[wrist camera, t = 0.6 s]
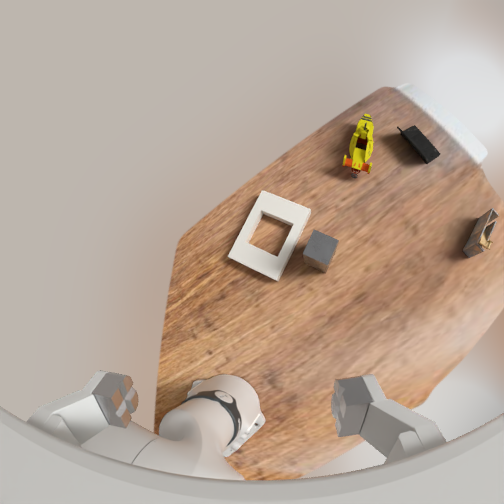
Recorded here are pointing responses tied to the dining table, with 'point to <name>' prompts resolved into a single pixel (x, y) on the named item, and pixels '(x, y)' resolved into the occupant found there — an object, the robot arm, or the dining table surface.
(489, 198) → the dining table surface
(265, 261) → the white rectangular frame
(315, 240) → the grey metal block
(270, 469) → the dining table surface
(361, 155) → the toy boat
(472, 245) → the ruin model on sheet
